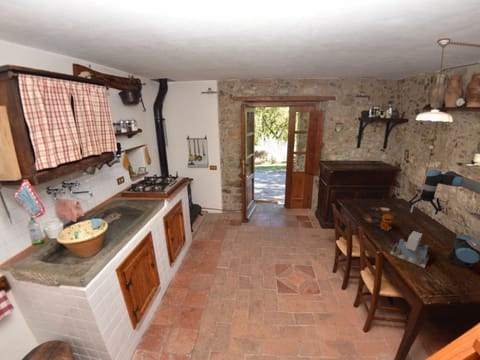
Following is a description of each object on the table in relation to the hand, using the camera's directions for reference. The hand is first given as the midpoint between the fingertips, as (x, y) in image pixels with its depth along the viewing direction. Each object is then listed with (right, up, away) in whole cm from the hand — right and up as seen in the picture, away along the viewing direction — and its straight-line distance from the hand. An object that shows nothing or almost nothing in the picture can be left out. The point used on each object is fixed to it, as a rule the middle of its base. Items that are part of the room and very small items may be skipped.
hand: (421, 214), depth 170 cm
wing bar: (-3, -26, +5) cm, 27 cm away
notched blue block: (-3, -35, +8) cm, 36 cm away
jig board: (-4, -36, +8) cm, 37 cm away
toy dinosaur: (+4, -23, +49) cm, 54 cm away
